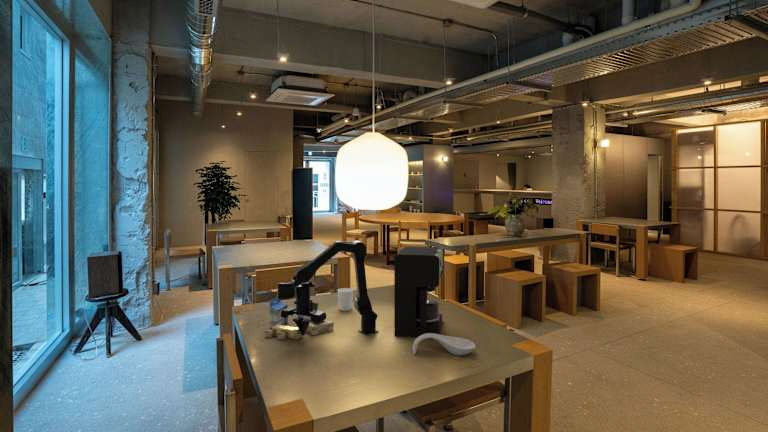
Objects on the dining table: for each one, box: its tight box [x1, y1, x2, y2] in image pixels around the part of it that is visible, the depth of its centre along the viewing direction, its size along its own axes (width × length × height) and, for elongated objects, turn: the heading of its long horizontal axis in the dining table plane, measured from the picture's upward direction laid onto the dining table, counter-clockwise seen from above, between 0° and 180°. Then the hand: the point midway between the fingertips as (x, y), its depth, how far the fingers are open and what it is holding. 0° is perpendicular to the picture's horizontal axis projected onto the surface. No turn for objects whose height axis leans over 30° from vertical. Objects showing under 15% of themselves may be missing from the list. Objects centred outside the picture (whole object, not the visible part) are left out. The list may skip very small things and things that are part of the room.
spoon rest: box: [411, 333, 476, 356], centre depth 151 cm, size 24×12×7 cm, turn 92°
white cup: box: [337, 287, 354, 312], centre depth 206 cm, size 8×8×10 cm
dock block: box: [306, 318, 334, 336], centre depth 176 cm, size 10×10×4 cm
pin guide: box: [264, 328, 287, 340], centre depth 169 cm, size 9×7×3 cm
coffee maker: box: [393, 245, 445, 340], centre depth 175 cm, size 28×20×35 cm
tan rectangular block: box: [271, 324, 304, 340], centre depth 168 cm, size 13×4×4 cm, turn 68°
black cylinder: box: [312, 309, 323, 325], centre depth 176 cm, size 4×4×8 cm
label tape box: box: [269, 297, 289, 329], centre depth 182 cm, size 9×4×12 cm, turn 161°
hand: (303, 335), depth 165 cm, fingers closed
